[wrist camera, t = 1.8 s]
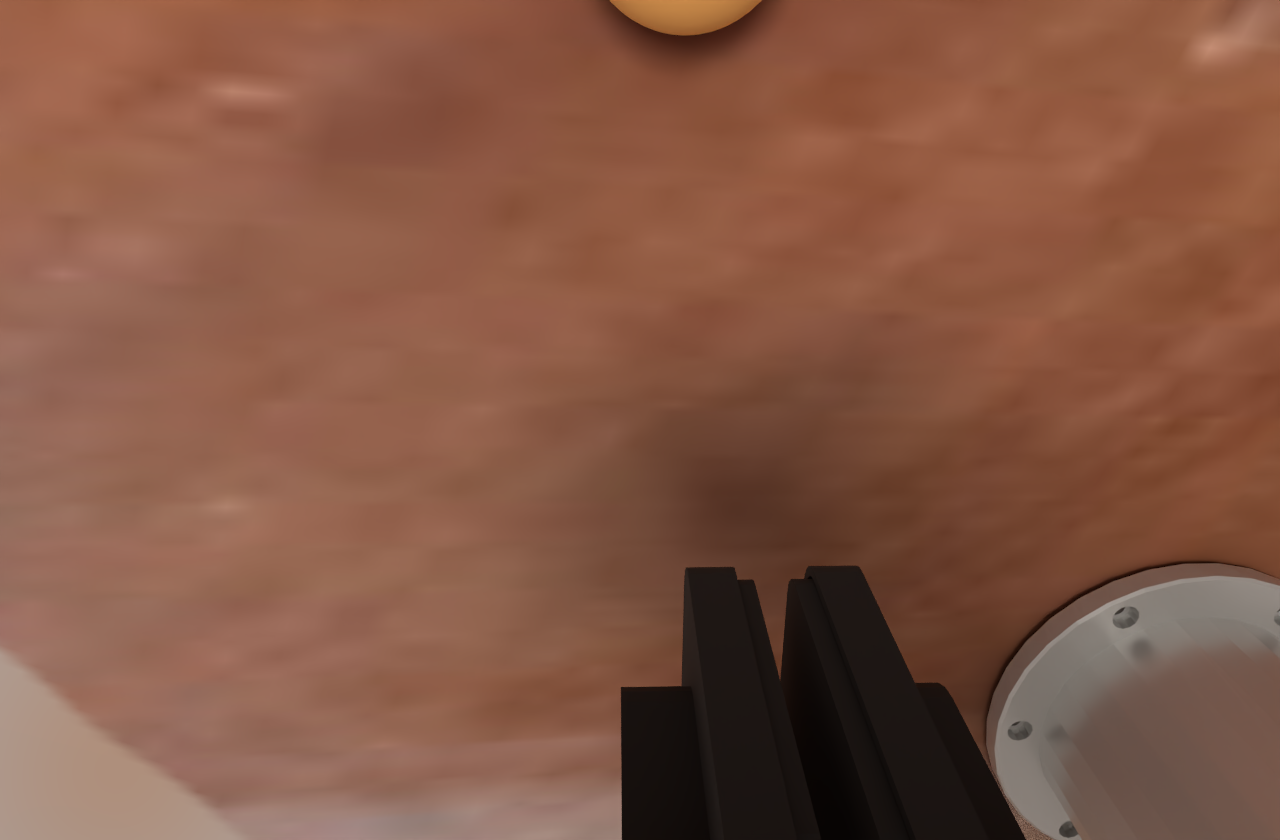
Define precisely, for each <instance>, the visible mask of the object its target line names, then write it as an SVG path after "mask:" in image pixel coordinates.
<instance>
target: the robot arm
mask: <svg viewBox="0 0 1280 840" xmlns="http://www.w3.org/2000/svg"><path fill="white" fill-rule="evenodd" d="M986 746H987V750H988V754H989V758H990V762H991V767H992V769H993V771H994V773H995V775H996V777H997V779H998V781H999V783H1000V785H1001V787H1002V789H1003V791H1004V793H1005V796H1006V797H1007V798H1008V800H1009V801H1010V802H1011V804H1012V805H1013V807H1014V808H1015V809H1016V811H1017V812H1018V813H1019V815H1020V816H1021V817H1023V818H1024V819H1025V820H1026V821H1027V822H1028V823H1030V824H1031V825H1032V826H1033V827H1034V828H1036V829H1037V830H1038V831H1039V832H1041V833H1043V834H1045V835H1047V836H1048V837H1050V838H1052V839H1054V840H1280V579H1277V578H1275V577H1272V576H1269V575H1267V574H1264V573H1262V572H1259V571H1256V570H1254V569H1250V568H1244V567H1238V566H1232V565H1226V564H1220V563H1200V564H1179V565H1173V566H1168V567H1162V568H1156V569H1150V570H1146V571H1143V572H1140V573H1137V574H1134V575H1131V576H1128V577H1125V578H1122V579H1119V580H1116V581H1113V582H1111V583H1109V584H1107V585H1105V586H1103V587H1101V588H1099V589H1097V590H1095V591H1093V592H1091V593H1089V594H1087V595H1085V596H1083V597H1081V598H1079V599H1077V600H1076V601H1075V602H1073V603H1072V604H1070V605H1069V606H1067V607H1066V608H1065V609H1063V610H1062V611H1060V612H1059V613H1057V614H1056V615H1054V616H1053V617H1052V618H1050V619H1049V620H1048V621H1047V622H1046V623H1045V624H1044V625H1043V626H1042V627H1041V628H1040V629H1039V630H1038V631H1037V632H1035V633H1034V634H1033V635H1032V636H1031V637H1030V638H1029V639H1028V640H1027V641H1026V642H1025V643H1024V645H1023V646H1022V647H1021V649H1020V650H1019V651H1018V653H1017V654H1016V655H1015V657H1014V658H1013V659H1012V661H1011V662H1010V663H1009V665H1008V666H1007V667H1006V669H1005V671H1004V673H1003V675H1002V677H1001V679H1000V682H999V684H998V686H997V688H996V690H995V692H994V694H993V697H992V701H991V705H990V709H989V713H988V717H987V734H986ZM621 754H622V840H1026V839H1025V837H1024V835H1023V833H1022V831H1021V829H1020V827H1019V825H1018V823H1017V821H1016V819H1015V817H1014V815H1013V814H1012V812H1011V810H1010V808H1009V806H1008V804H1007V802H1006V800H1005V798H1004V796H1003V794H1002V792H1001V791H1000V789H999V787H998V785H997V783H996V781H995V779H994V777H993V775H992V773H991V771H990V769H989V768H988V766H987V764H986V762H985V760H984V758H983V756H982V754H981V752H980V750H979V748H978V746H977V745H976V743H975V741H974V739H973V737H972V735H971V733H970V731H969V729H968V727H967V725H966V723H965V722H964V720H963V718H962V716H961V714H960V712H959V710H958V708H957V706H956V704H955V702H954V700H953V698H952V697H951V695H950V694H949V692H948V691H947V689H946V688H945V687H944V686H942V685H941V684H939V683H915V682H914V680H913V678H912V676H911V674H910V672H909V670H908V668H907V665H906V663H905V661H904V659H903V657H902V655H901V653H900V651H899V649H898V646H897V644H896V642H895V640H894V638H893V636H892V634H891V632H890V630H889V628H888V625H887V623H886V621H885V619H884V617H883V615H882V613H881V611H880V609H879V606H878V604H877V602H876V600H875V598H874V596H873V594H872V592H871V590H870V587H869V585H868V583H867V581H866V579H865V577H864V575H863V573H862V571H861V569H860V568H859V567H858V566H809V567H808V568H807V570H806V573H805V578H804V579H791V580H790V581H789V585H788V592H787V605H786V617H785V630H784V643H783V655H782V668H781V680H780V679H779V675H778V671H777V667H776V663H775V660H774V656H773V652H772V648H771V644H770V640H769V637H768V633H767V629H766V625H765V621H764V617H763V614H762V610H761V606H760V602H759V598H758V594H757V590H756V587H755V583H754V581H753V580H737V575H736V571H735V568H733V567H694V568H686V569H685V580H684V616H683V655H682V686H674V687H621Z"/></svg>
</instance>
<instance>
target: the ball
mask: <svg viewBox="0 0 1280 840" xmlns="http://www.w3.org/2000/svg"><path fill="white" fill-rule="evenodd" d="M761 1H762V0H610V2H611V3H612V4H613V5H615V6H616V7H617V8H618V9H619V10H620V11H621V12H622V13H623V14H625V15H626V16H628V17H629V18H630V19H632V20H633V21H635V22H637V23H639V24H641V25H642V26H644V27H647V28H649V29H652V30H655V31H657V32H662V33H666V34H671V35H684V36H685V35H699V34H704V33H708V32H713V31H715V30H718V29H721V28H723V27H726V26H728V25H730V24H732V23H733V22H735V21H737V20H739V19H740V18H742V17H743V16H744V15H746V14H747V13H749V12H750V11H751V10H752V9H753V8H754V7H755V6H756V5H757V4H759V3H760V2H761Z"/></svg>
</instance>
